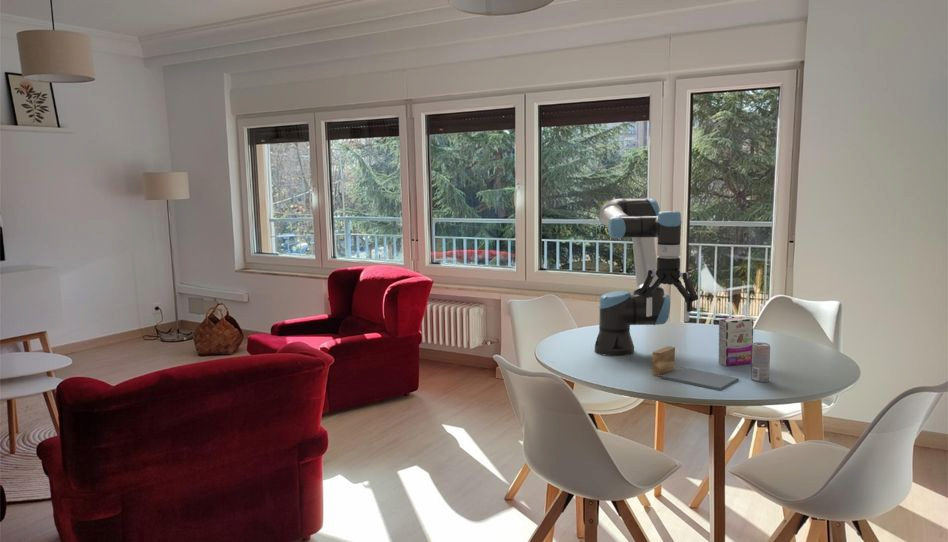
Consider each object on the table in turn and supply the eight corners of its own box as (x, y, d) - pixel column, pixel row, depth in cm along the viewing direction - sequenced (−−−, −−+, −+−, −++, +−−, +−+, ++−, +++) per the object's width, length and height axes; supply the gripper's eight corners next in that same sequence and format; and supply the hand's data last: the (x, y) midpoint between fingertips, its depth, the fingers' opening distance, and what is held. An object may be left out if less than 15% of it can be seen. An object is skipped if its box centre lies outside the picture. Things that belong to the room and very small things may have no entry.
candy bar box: (743, 360, 228) (744, 316, 226) (753, 363, 224) (754, 318, 222) (717, 363, 226) (718, 318, 223) (726, 366, 221) (727, 321, 219)
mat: (661, 378, 209) (661, 375, 209) (681, 369, 219) (681, 366, 219) (720, 390, 195) (720, 388, 195) (738, 380, 205) (738, 377, 205)
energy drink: (764, 377, 208) (765, 342, 206) (772, 382, 202) (773, 346, 201) (748, 377, 208) (749, 342, 206) (755, 382, 202) (757, 346, 201)
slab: (652, 374, 214) (652, 351, 213) (666, 368, 221) (666, 346, 220) (660, 376, 212) (660, 353, 211) (674, 369, 219) (674, 347, 218)
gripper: (629, 255, 217) (629, 315, 220) (700, 260, 200) (698, 325, 203) (640, 253, 222) (639, 312, 225) (709, 258, 206) (707, 321, 208)
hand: (667, 318), depth 214 cm, fingers open, 13 cm apart
